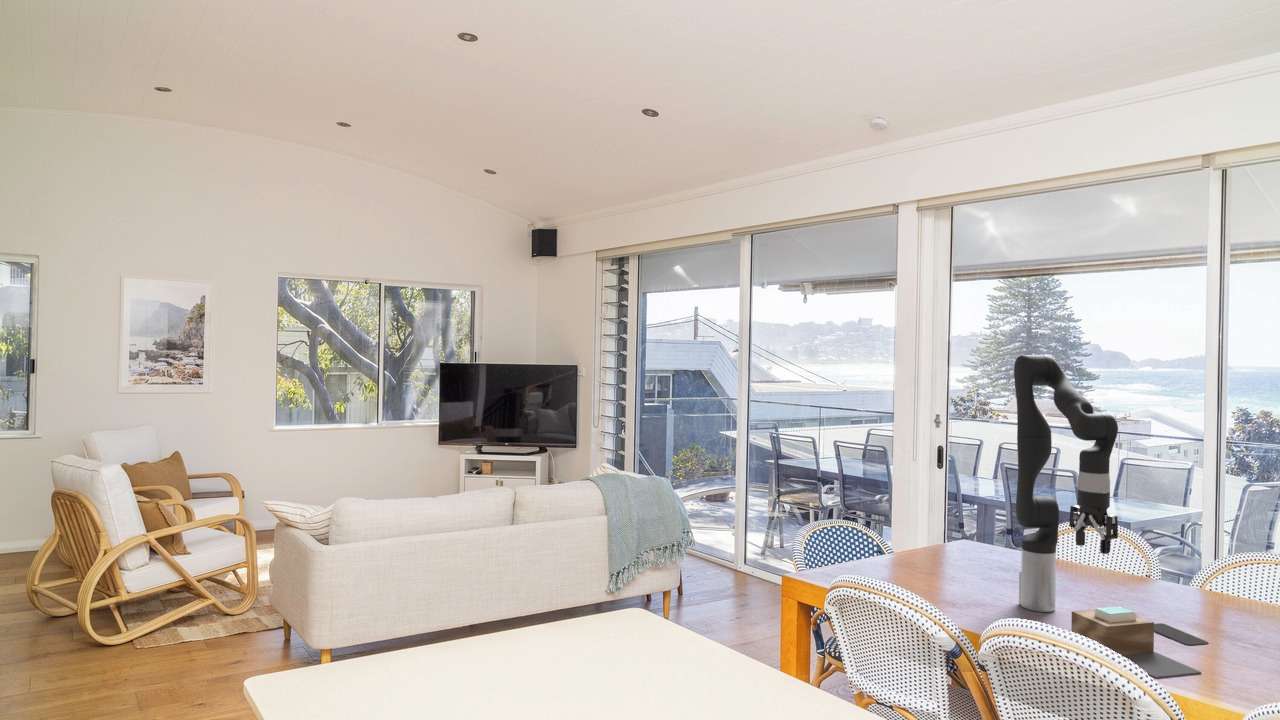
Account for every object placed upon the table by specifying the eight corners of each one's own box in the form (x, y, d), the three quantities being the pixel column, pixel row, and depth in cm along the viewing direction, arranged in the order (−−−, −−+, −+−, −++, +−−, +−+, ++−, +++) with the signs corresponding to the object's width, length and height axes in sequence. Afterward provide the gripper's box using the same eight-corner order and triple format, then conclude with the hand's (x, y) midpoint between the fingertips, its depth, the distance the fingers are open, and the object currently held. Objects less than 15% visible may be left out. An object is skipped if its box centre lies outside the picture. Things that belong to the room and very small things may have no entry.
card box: (1094, 615, 211) (1094, 608, 211) (1120, 613, 213) (1120, 606, 213) (1109, 622, 207) (1109, 614, 207) (1136, 620, 208) (1136, 612, 208)
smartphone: (1187, 644, 212) (1140, 624, 227) (1187, 648, 212) (1140, 627, 227) (1210, 642, 214) (1162, 622, 228) (1210, 646, 214) (1162, 626, 229)
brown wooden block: (1071, 641, 215) (1071, 611, 215) (1115, 637, 218) (1116, 607, 218) (1107, 658, 204) (1107, 626, 203) (1153, 653, 207) (1154, 622, 207)
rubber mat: (1112, 657, 204) (1112, 656, 204) (1155, 653, 207) (1155, 652, 207) (1155, 678, 191) (1155, 676, 191) (1201, 673, 194) (1201, 671, 194)
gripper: (1062, 484, 223) (1060, 543, 224) (1102, 494, 209) (1101, 557, 210) (1085, 483, 225) (1084, 542, 225) (1127, 493, 211) (1125, 555, 211)
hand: (1092, 549), depth 217 cm, fingers open, 8 cm apart
